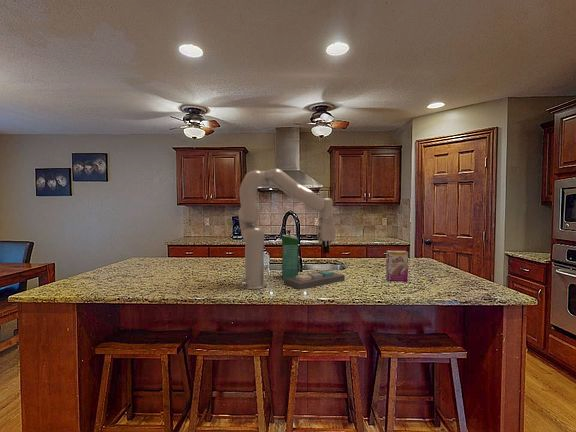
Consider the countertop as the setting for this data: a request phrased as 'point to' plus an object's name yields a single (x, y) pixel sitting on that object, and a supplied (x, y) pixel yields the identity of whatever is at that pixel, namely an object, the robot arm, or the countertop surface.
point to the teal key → (326, 273)
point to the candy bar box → (397, 266)
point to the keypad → (313, 281)
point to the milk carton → (289, 256)
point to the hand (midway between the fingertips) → (326, 252)
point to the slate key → (315, 275)
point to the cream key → (303, 277)
